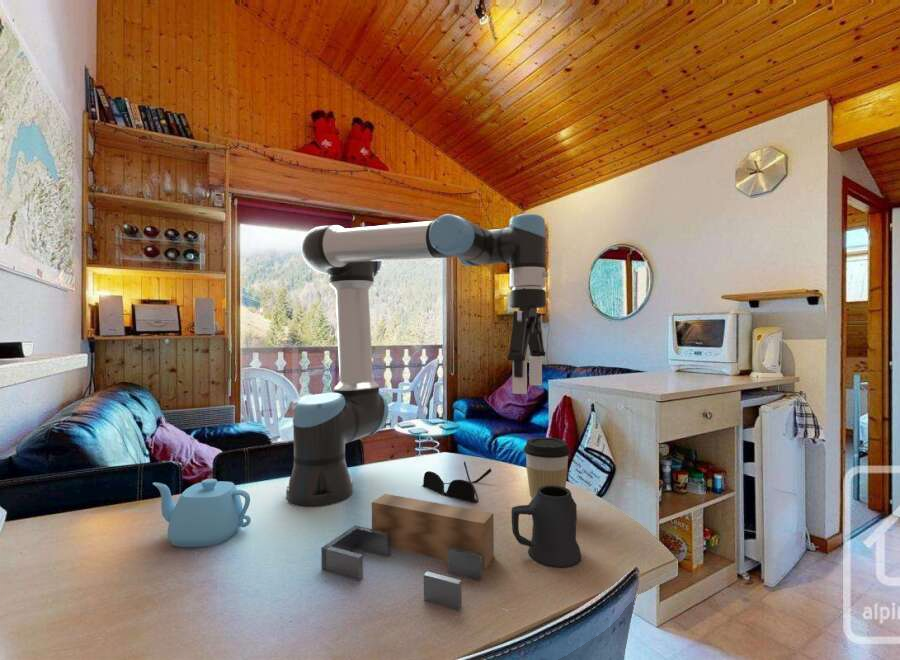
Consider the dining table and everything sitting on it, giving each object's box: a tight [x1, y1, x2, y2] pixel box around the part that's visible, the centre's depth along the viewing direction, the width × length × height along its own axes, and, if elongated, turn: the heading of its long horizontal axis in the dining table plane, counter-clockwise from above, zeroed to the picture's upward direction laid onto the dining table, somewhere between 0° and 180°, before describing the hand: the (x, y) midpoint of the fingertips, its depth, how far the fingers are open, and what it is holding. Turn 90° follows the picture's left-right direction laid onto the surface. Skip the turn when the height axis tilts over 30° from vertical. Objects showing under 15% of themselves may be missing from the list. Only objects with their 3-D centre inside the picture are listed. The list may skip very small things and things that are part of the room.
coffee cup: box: [523, 436, 571, 502], centre depth 95 cm, size 10×10×15 cm
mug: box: [510, 485, 582, 569], centre depth 77 cm, size 12×9×11 cm
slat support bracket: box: [320, 524, 392, 582], centre depth 74 cm, size 8×9×4 cm
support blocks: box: [423, 547, 483, 612], centre depth 67 cm, size 6×9×4 cm, turn 155°
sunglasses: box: [421, 460, 492, 504], centre depth 109 cm, size 17×14×5 cm
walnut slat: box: [371, 493, 495, 571], centre depth 79 cm, size 22×4×8 cm, turn 65°
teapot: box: [152, 478, 251, 548], centre depth 85 cm, size 13×11×18 cm
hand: (528, 389), depth 94 cm, fingers open, 13 cm apart
